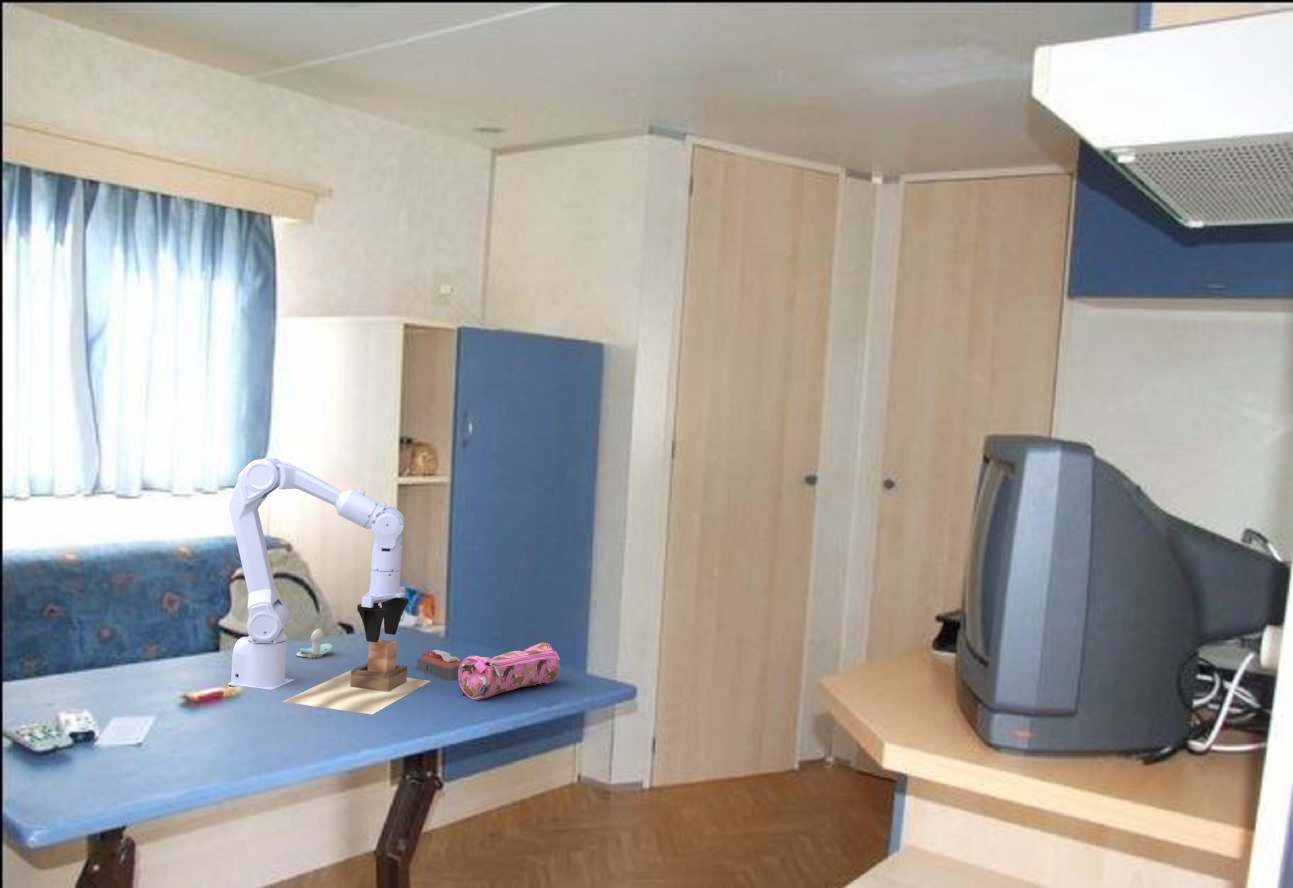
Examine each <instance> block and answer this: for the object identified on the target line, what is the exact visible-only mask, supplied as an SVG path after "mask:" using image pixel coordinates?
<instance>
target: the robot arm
mask: <svg viewBox="0 0 1293 888" xmlns="http://www.w3.org/2000/svg"><path fill="white" fill-rule="evenodd" d="M277 489H278V490H293V489H296V490H299V491H301V492H304V493H306V494H307V495H309V496H310V495H311V496H312V497H314V498H316V499H319V500H321V501H323V502H326V503H328V504H330V505H333V506H334V507H335V508H336V512H337V515H338V516H340V517H342V518H343V519H345V520H347V521H350V522H351V523H354V524H355V525H358V526H360V527H362V528H364V529H365V530H372V533H373V534H374V535H373V545H372V547H371V548H372V549H371V564H370V578H369V579H370V581H369V590H368V592H367V593H366V594H365V595H363V596H362V597H361V603H360V604H357V606H356V610H357V612H358V613H359V616H360V619H361V622H362V623H363V624H362V625H363V629H364V634H365V639H366V642H367V643H368V642H369V643H371V642H378V640H379V639H380V636H381V629H382V624H383V630H384V634H385V635H392V636H393V635H394V636H395V635H396V633H397V632H398V629H399V624H400V622H401V618H402V616H403V613H404V611H405V609H406V607H407V606H408V604H409V602H410V600H409V598H408V597H405V595H406V594H405V593H406V586H403V585H402V586H401V570H402V558H403V557H402V556H403V555H402V552H403V546H402V544H403V537H402V536H403V535H402V532H403V530H404V527H405V518H404V516H403V513H402V512H401V511H399V510H398V509H397V508H396V506H395V507H394V506H387V505H388V503H387V502H385V501H382V502H379V501H377V500H375V499H373V498H371V497H370V496H367V495H366V491H364V490H363V489H361V488H360V489H358V490H356V489H354V488H351V489H349V490H344V491H343V490H341V489H339V488H338V487H335V486H334V485H331V484H330V483H328V482H326V481H325V480H323V479H322V478H319V477H317V476H315V475H313V474H312V473H309V471H306V470H304V469H302V468H301V467H299V466H296V465H293V464H291V463H289V462H285V461H284V462H283V461H281V460H280V459H279V458H277V457H273V456H270V457H269V456H267V457H264V458H260V459H256V460H252V461H251V462H250V463H248V464H247V465H246V466H245V467H244V468H243V469H242V470H241V472H239V474H238V477H237V482H236V484H235V486H234V490H233V492H232V495H231V496H230V500H229V503H228V509H229V512H230V519H231V521H232V522H231V523H232V526H233V532H234V535H235V539H236V545H237V549H238V553H239V557H240V563H241V566H242V570H243V575H244V579H245V580H244V581H245V585H246V589H247V593H248V599H247V610H248V618H247V621H246V631H247V633H248V636H242V637H240V638H239V639H238V640H237V641H236V642H235V644H234V647H233V650H232V658H231V674H230V682H228V686H229V685H231V686H232V687H239V686H243V687H250V688H259V689H264V690H274V689H277V688H279V687H280V686H283V685H286V684H288V683H291V682H293V681H294V680H295V679H293V678H287V677H286V667H287V666H286V665H287V664H286V662H287V646H288V635H287V634H286V633H285V630H284V629H286V627H287V625H288V624H289V621H290V618H291V617H290V616H291V615H290V612H289V611H290V610H289V608H288V607H287V606H286V605H285V604H284V601H282V597H281V594H280V592H279V590H278V589H277V587H276V585H275V584H276V583H275V581H274V575H273V570H272V567H271V562H270V561H271V560H270V557H269V553H268V549H267V543H266V540H265V535H264V530H263V527H262V522H261V517H260V513H259V508H260V507H261V505H262V504H263V502H265V500H266V499H267V497H268V495H270V494H271V493H272V492H274V491H275V490H277ZM379 604H380V605H379ZM231 686H230V687H231Z"/></svg>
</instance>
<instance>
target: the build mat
mask: <svg viewBox="0 0 1293 888" xmlns="http://www.w3.org/2000/svg"><path fill="white" fill-rule="evenodd" d="M407 675H408V666H407V665H400V664H396V669H395V670H393V671H391V672H389V673H387V674H385V673H377V672H370V671H368V662H367V663H365V664H363V665H361V666H358V667H356V668H354V669H352V670H351V669H350V670H348V671H346V672H344V673H341V674H340V675H339V674H338V675H337V676H335V677H333V678H331V679H328V680H326V681H324V682H322V683H320V684H317V685H315V686H313V687H311V688H308V689H307V690H304V691H303V692H300V693H298V694H296V695H294V696H293V695H292V696H291V697H289V698H287V699H285V700H283V701H282V703H289V704H296V705H301V706H309V707H316V708H323V709H329V710H330V709H331V710H336V711H337V710H339V711H343V712H344V711H345V712H351V713H352V712H353V713H358V714H359V713H360V714H366V715H367V714H368V715H374V714H376V713H377V712H380V711H381V710H382V709H384V708H386V707H389V706H391V705H392V704H393V703H395V702H397V701H399V700H401V699H403V698H404V697H406V696H408V695H410V694H412V693H413V692H414V691H417V690H418V689H420V688H421V687H423V686H425V685H427V684H429V683H431V682H432V680H428V679H427V680H426V679H420V678H419V679H418V678H413V677H412V678H411V677H408V676H407Z"/></svg>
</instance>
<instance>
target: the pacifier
mask: <svg viewBox="0 0 1293 888" xmlns="http://www.w3.org/2000/svg"><path fill="white" fill-rule="evenodd" d="M323 638H324V631H323V630H322V628H316V629H315V630H314V631H313V632H312V633H311V636H310V641H311V647H307V648H299V652H298V651H297V653H296V656H297V657H302V658H303V657H304V658H308V657H311V658H310V659H315V657H317V658H321V657H323V655H325V654H327V653H329V652H330V651H331V650H332V648H333V645H332V643H321V641H322V639H323ZM312 657H313V658H312Z"/></svg>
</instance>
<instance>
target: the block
mask: <svg viewBox="0 0 1293 888" xmlns="http://www.w3.org/2000/svg"><path fill="white" fill-rule="evenodd" d="M397 652H398V641H395V640H386V639H380V638H379V640H378V642H369V643H368V655H367V657H368V659H367V663H368V671H370V672H377V673H385V674H387V673H389V672H391V671H393V670H395V669H396V665H397V655H398V654H397Z"/></svg>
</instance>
